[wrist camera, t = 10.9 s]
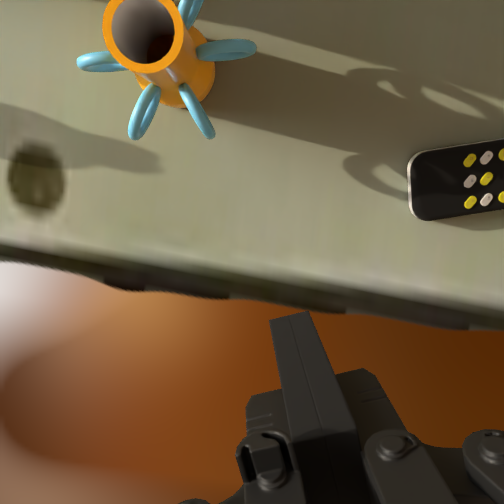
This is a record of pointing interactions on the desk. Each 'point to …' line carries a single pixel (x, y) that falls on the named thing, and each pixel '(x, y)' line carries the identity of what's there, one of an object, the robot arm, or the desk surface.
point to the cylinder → (162, 57)
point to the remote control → (457, 180)
